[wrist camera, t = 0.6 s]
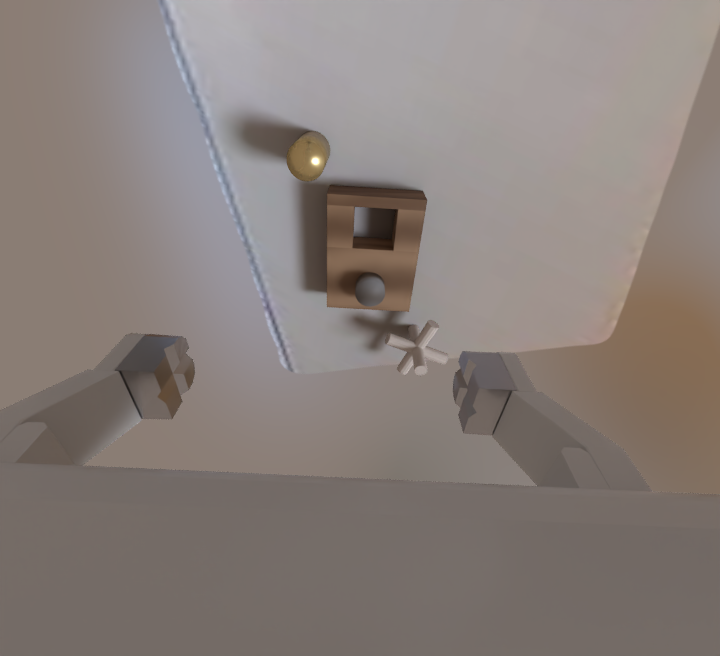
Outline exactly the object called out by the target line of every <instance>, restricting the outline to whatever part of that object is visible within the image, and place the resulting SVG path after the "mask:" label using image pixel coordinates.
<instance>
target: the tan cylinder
mask: <svg viewBox="0 0 720 656" xmlns="http://www.w3.org/2000/svg"><path fill="white" fill-rule="evenodd" d="M329 156H330V146H329V143H328V141H327V139H326V138H325V137H324V136H323V135H322V134H321V133H319V132H316V131H309V132H306V133H305V134H303V135H302V136H301V137H300V138H299V139H298V140H297V141H296V142H295V143H294V144H293V145H292V146H291V147H290V148H289V150H288V153H287V165H288V168H289V170H290V172H291V173H292V174H293V175H294V176H295V177H296V178H298V179H299V180H302V181H313V180H315V179H317V178H318V177H319V176H320V175H321V173H322V172H323V170H324V167H325V165H326V163H327V161H328V159H329Z"/></svg>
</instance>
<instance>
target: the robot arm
mask: <svg viewBox="0 0 720 656" xmlns="http://www.w3.org/2000/svg"><path fill="white" fill-rule="evenodd" d="M188 349H189V346H188V343H187V340H186V338H184V337H182V336H169V335H155V334H138V333H130V334H127V335H125V337H124V338H123V339H122V340H121V341H120V342H119V343H118V344H117V345H116V346H115V347H114V348H113V349H112V350H111V352H110V353H109V354H108V355H107V356H106V357H105V358H104V359H103V360H102V361H101V362H100V363H99V364H98V365H97V366H96V368H95V369H94V370H86V371H84V372H82V373H79V374H77V375H75V376H73V377H71V378H68V379H66V380H64V381H62V382H60V383H58V384H56V385H53V386H52V387H49V388H47V389H45V390H43V391H41V392H39V393H36V394H34V395H32V396H30V397H28V398H25V399H23V400H21V401H19V402H17V403H15V404H13V405H10V406H8V407H6V408H4V409H2V410H0V656H720V495H719V494H696V493H695V494H694V493H673V492H652V490H651V489H650V487H649V486H648V484H647V483H646V481H645V480H644V479H643V477H642V476H641V474H640V472H639V471H638V470H637V468H636V467H635V465H634V464H633V462H632V461H631V459H630V458H629V456H628V455H627V453H626V452H625V451H624V449H623V448H621V447H620V446H618V445H617V444H616V443H614V442H613V441H611V440H610V439H608V438H607V437H605V436H604V435H603V434H601V433H600V432H598V431H597V430H596V429H594V428H593V427H591V426H590V425H588V424H587V423H585V422H584V421H583V420H581V419H580V418H578V417H577V416H575V415H574V414H573V413H571V412H570V411H568V410H567V409H565V408H564V407H563V406H561V405H560V404H558V403H557V402H555V401H554V400H553V399H551V398H550V397H548V396H547V395H545V394H544V393H542V392H537V391H536V389H535V387H534V386H533V384H532V382H531V380H530V378H529V377H528V375H527V373H526V371H525V369H524V368H523V365H522V364H521V362H520V360H519V358H518V356H517V355H516V354H515V353H506V352H497V353H492V352H471V351H463V352H462V353H461V355H460V358H459V365H460V368H461V369H459V370H458V371H457V372H455V376H454V381H453V396H454V400H455V403H456V404H457V405H458V406H459V407H460V411H459V414H458V415H459V419H460V423H461V426H462V430H463V433H466V434H480V435H493V438H494V439H495V440H496V441H497V442H498V443H499V445H500V446H502V448H503V449H504V450H505V451H506V452H507V453H508V454H509V455H510V457H511V458H512V459H513V460H514V461H515V462H516V463H517V464H518V465H519V466H520V467H521V468H522V470H523V471H524V472H525V473H526V474H527V475H528V476H529V477H530V478H531V479H532V480H533V482H534V483H535V484H536V485H537V486H519V485H498V484H476V483H475V484H473V483H453V482H431V481H409V480H388V479H365V478H343V477H321V476H298V475H277V474H254V473H233V472H211V471H189V470H166V469H145V468H123V467H122V468H121V467H100V466H82V465H84V464H85V463H86V462H88V461H89V460H90V459H92V458H93V457H94V456H96V455H97V454H98V453H99V452H101V451H102V450H103V449H105V448H106V447H107V446H109V445H110V444H111V443H113V442H114V441H115V440H116V439H118V438H119V437H120V436H122V435H123V434H124V433H126V432H127V431H128V430H130V429H131V428H132V427H133V426H135V425H136V424H137V423H139V422H140V421H141V420H142V419H173V417H174V415H175V414H176V412H177V410H178V408H179V406H180V405H181V403H182V399H181V396H180V395H182V394H183V393H185V392H186V391H188V390H189V389H190V387H191V385H192V383H193V379H194V375H195V367H194V362H193V359H192V358H191V357H189V356H188V355H187V354H186V352H187V350H188Z"/></svg>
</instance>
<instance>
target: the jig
mask: <svg viewBox="0 0 720 656" xmlns="http://www.w3.org/2000/svg"><path fill="white" fill-rule="evenodd" d="M426 204H427V199H426V197H425V194H424V192H423V191H414V190H398V189H382V188H366V187H351V186H335V185H330V187H329V190H328V193H327V307H336V308H354V309H372V310H390V311H407V312H409V308H410V302H411V296H412V290H413V283H414V277H415V271H416V265H417V259H418V253H419V247H420V241H421V235H422V229H423V222H424V216H425V210H426ZM355 207H369V208H385V209H395V215H394V224H393V233H392V239H382V238H365V237H353V232H354V211H355Z"/></svg>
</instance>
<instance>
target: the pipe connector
mask: <svg viewBox="0 0 720 656" xmlns="http://www.w3.org/2000/svg"><path fill="white" fill-rule="evenodd" d="M438 328H439V325H438V324H437V323H436V322H434V321H432V320H429V321H428V322H427V324H426V325H425V327H424V328H423V330H422V331H421V333H420V330H419V327H418V326H417V325H411V326H410V327H409V328H408V332H409V338H410V340H408V339H406V338H403V337H400V336H397V335H395V334H392V333H389V334H388V335H387V337H386V340H385V343H386V344H387V345H390V346H393V347H395V348H398V349H401V350H404V351H407V353H406V355H405V356H404V358H403V359H402V361H401V362H400V364H399V365H398V367H397V370H398V371H399V372H400V373H402V374H407V372H408V371H409V369H410V368H411V367H412V365H413V364H414V370H415V373H416V374H418V375H423V374H426V373H427V365H426V360H425V358H426V359H429V360H432V361H435V362H438V363H440V364H445V363H446V362H447V360H448V354H446V353H444V352H441V351H438V350H436V349H433V348H430V347H427V346H426V345H427V344H428V342H429V341H430V340H431V338H432V337H433V335H434V334H435V332H436V331H437V330H438Z"/></svg>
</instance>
